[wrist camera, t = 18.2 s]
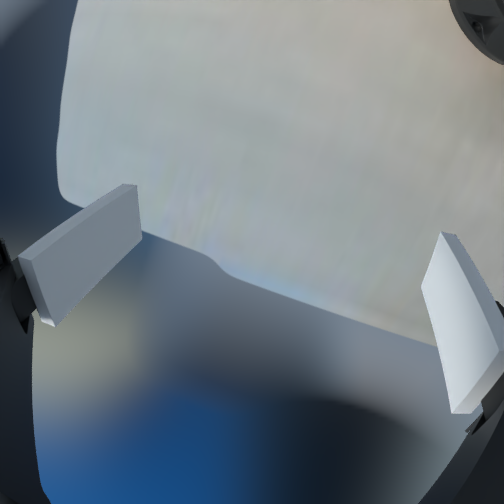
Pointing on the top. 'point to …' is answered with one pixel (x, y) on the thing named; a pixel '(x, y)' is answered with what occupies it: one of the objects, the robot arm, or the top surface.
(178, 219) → the top surface
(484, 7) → the robot arm
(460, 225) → the top surface
